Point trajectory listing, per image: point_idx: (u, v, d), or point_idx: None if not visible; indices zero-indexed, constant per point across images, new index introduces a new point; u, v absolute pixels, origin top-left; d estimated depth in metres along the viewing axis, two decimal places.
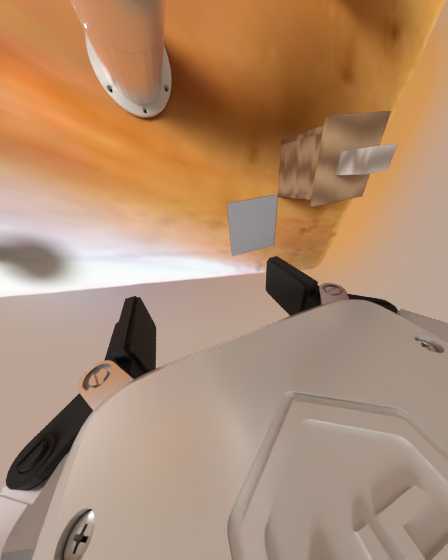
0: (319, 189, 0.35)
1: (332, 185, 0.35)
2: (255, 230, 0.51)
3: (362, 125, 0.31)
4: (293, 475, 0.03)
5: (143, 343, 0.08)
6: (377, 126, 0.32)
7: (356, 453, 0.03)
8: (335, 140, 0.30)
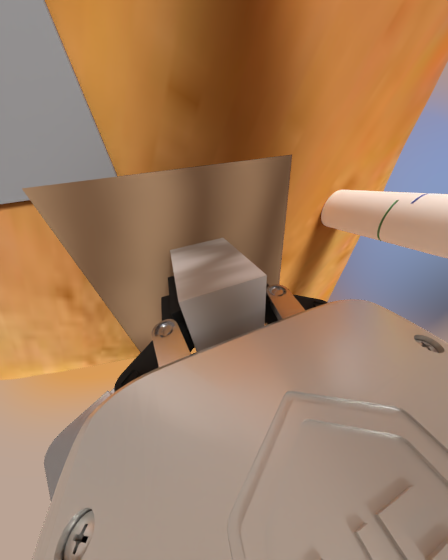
0: (107, 194, 0.09)
1: (140, 253, 0.11)
2: None
3: (264, 270, 0.15)
4: (293, 475, 0.03)
5: None
6: None
7: (356, 453, 0.03)
8: (244, 201, 0.11)
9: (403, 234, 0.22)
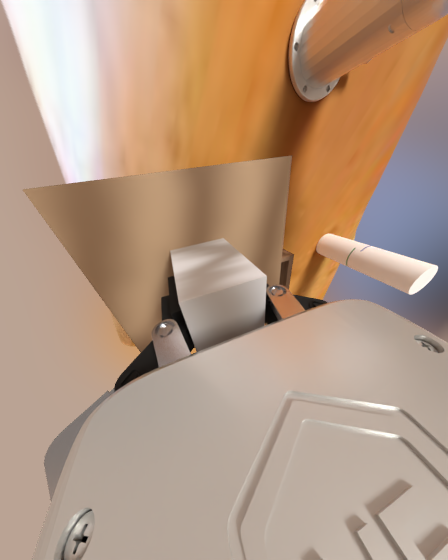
0: (108, 195, 0.09)
1: (140, 253, 0.11)
2: None
3: (264, 270, 0.15)
4: (293, 475, 0.03)
5: None
6: None
7: (356, 453, 0.03)
8: (244, 202, 0.11)
9: (357, 266, 0.43)
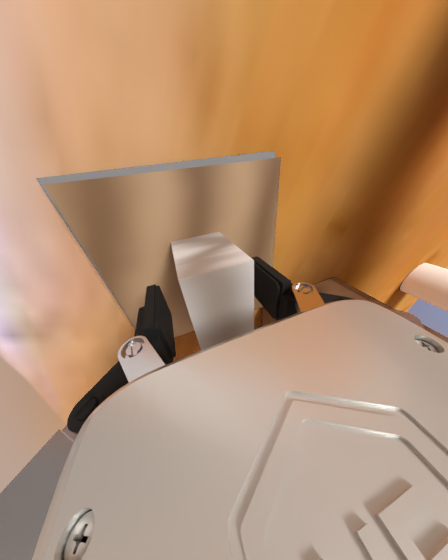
0: (116, 191, 0.10)
1: (144, 244, 0.12)
2: None
3: None
4: (293, 475, 0.03)
5: (165, 325, 0.09)
6: None
7: (356, 453, 0.03)
8: (238, 198, 0.12)
9: None
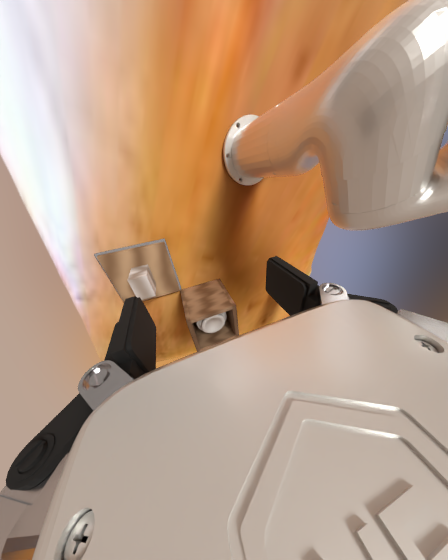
0: (114, 256, 0.37)
1: (122, 269, 0.39)
2: None
3: (167, 273, 0.43)
4: (293, 475, 0.03)
5: (143, 343, 0.08)
6: (170, 286, 0.45)
7: (356, 453, 0.03)
8: (152, 254, 0.39)
9: None
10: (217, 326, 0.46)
